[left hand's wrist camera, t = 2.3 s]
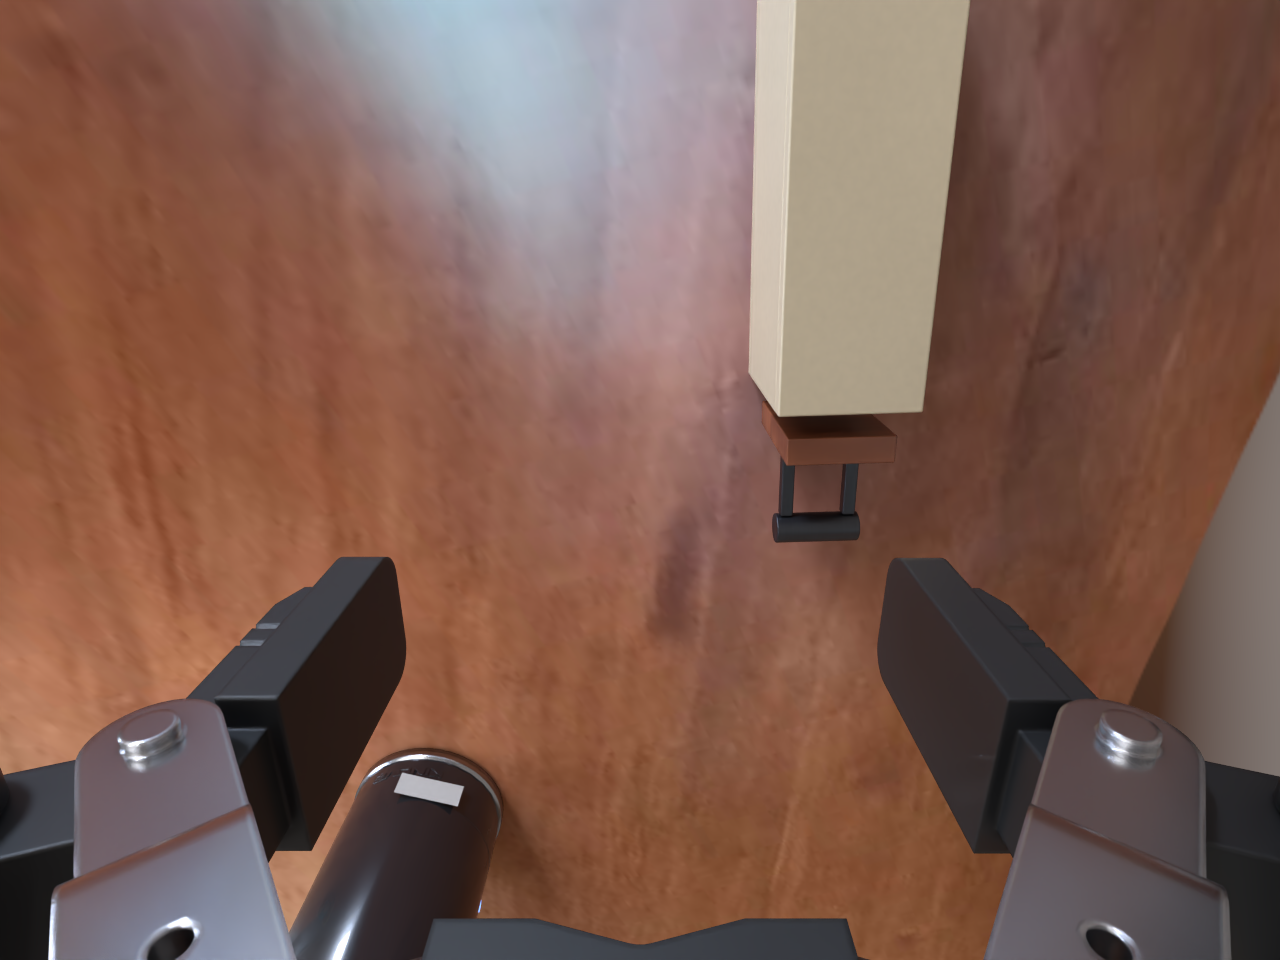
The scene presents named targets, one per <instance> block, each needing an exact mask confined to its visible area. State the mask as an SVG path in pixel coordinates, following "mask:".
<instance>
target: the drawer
mask: <svg viewBox="0 0 1280 960" xmlns="http://www.w3.org/2000/svg"><path fill="white" fill-rule="evenodd" d="M762 424H763V426H764V427H765V429H766V431H767V433H768V434H769V436H770V438H771V439H772V441H773V443H774V445H775V446H776V448H777V450H778V452H779V453H780V455H781V462H780V487H779V513H775V514H774V515H773V519H772V531H773V538H774V541H775V542H776V543H778V542H812V541H845V540H857V539H858V538H859V534H860V521H859V516H858V514H857V512H856V511H855V501H856V489H857V477H858V465H859V463H891V462H894V461H895V452H896V442H897V436H896V435H895V434H894V433H893V432H892V431H891V430H890V429H888V428H887V427H886V426H885V425H884V424H883V423H881V422H880V421H879V420H878V419H877V418H876V417H874V416H873V415H872V414H856V415H825V416H794V417H779V416H778V415H777V414H776V412H775V411H774V410H773V408H772V407H771V405H770V404H769V402H768V401H763V402H762ZM826 464H843V470H842V484H841V497H840V511H837V512H804V513H793V495H794V475H795V465H826Z"/></svg>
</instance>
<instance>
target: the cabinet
mask: <svg viewBox="0 0 1280 960" xmlns="http://www.w3.org/2000/svg"><path fill="white" fill-rule="evenodd" d="M969 8H970V0H757V31H756V75H755V119H754V163H753V207H752V251H751V295H750V339H749V374H750V376H751V377H752V379H753V380H754V382H755V383H756V385H757V386H758V388H759V389H760V391H761V392H762V393H763V395H764V396H765V398H766V399H767V401H768V402H769V404H770V405H771V407H772V408H773V410H774V411H775V412H776V414H777V415H778V416H779V417H794V416H825V415H856V414H887V413H918V412H922V411H923V405H924V396H925V387H926V379H927V370H928V361H929V353H930V344H931V336H932V327H933V318H934V310H935V301H936V293H937V284H938V275H939V267H940V258H941V250H942V241H943V232H944V224H945V215H946V206H947V198H948V189H949V181H950V172H951V163H952V155H953V146H954V138H955V129H956V120H957V112H958V103H959V95H960V86H961V77H962V69H963V60H964V51H965V43H966V34H967V26H968V17H969Z"/></svg>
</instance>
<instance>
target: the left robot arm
mask: <svg viewBox="0 0 1280 960" xmlns="http://www.w3.org/2000/svg"><path fill="white" fill-rule="evenodd" d="M877 653H878V663H879V669H880V673H881V676H882V679H883V682H884V684H885V686H886V688H887V689H888V691H889V693H890V695H891V697H892V699H893V701H894V703H895V705H896V706H897V708H898V710H899V712H900V714H901V716H902V718H903V720H904V722H905V724H906V725H907V727H908V729H909V731H910V733H911V735H912V737H913V739H914V741H915V743H916V744H917V746H918V748H919V750H920V752H921V754H922V756H923V758H924V760H925V762H926V763H927V765H928V767H929V769H930V771H931V773H932V775H933V777H934V779H935V780H936V782H937V784H938V786H939V788H940V790H941V792H942V794H943V796H944V798H945V799H946V801H947V803H948V805H949V807H950V809H951V811H952V813H953V815H954V817H955V818H956V820H957V822H958V824H959V826H960V828H961V830H962V832H963V834H964V835H965V837H966V839H967V841H968V843H969V845H970V847H971V849H972V851H973V853H1010V854H1011V855H1012V857H1013V861H1012V864H1011V868H1010V871H1009V874H1008V878H1007V881H1006V885H1005V888H1004V891H1003V895H1002V898H1001V902H1000V905H999V909H998V912H997V915H996V919H995V922H994V926H993V929H992V932H991V936H990V939H989V943H988V946H987V949H986V953H985V956H984V960H1280V777H1279V776H1274V775H1269V774H1264V773H1259V772H1255V771H1250V770H1245V769H1240V768H1235V767H1231V766H1226V765H1221V764H1216V763H1212V762H1207V761H1204V758H1203V756H1202V754H1201V752H1200V751H1199V749H1198V748H1197V747H1196V745H1195V744H1194V743H1193V742H1192V741H1191V740H1190V739H1189V738H1188V737H1187V736H1186V735H1184V734H1183V733H1182V732H1181V731H1179V730H1178V729H1177V728H1175V727H1174V726H1172V725H1171V724H1169V723H1168V722H1166V721H1164V720H1162V719H1160V718H1158V717H1157V716H1154V715H1152V714H1150V713H1148V712H1146V711H1143V710H1141V709H1138V708H1135V707H1133V706H1129V705H1126V704H1123V703H1119V702H1114V701H1109V700H1102V699H1098V698H1097V697H1096V696H1095V695H1094V694H1093V693H1092V692H1091V691H1090V690H1089V688H1088V687H1087V686H1086V685H1085V684H1084V683H1083V682H1082V681H1081V680H1080V679H1079V678H1078V677H1077V676H1076V675H1075V674H1074V673H1073V672H1072V671H1071V670H1070V669H1069V668H1068V667H1067V665H1066V664H1065V663H1064V662H1063V661H1062V660H1061V659H1060V658H1059V657H1058V656H1057V655H1056V654H1055V653H1054V652H1053V651H1052V650H1051V649H1050V648H1049V647H1045V642H1044V641H1043V640H1042V639H1041V638H1040V637H1039V636H1038V635H1037V634H1036V633H1035V632H1034V631H1033V630H1029V626H1028V625H1027V624H1026V623H1025V622H1024V621H1023V620H1022V618H1021V617H1020V616H1019V615H1018V614H1017V613H1016V612H1015V611H1014V610H1013V609H1012V608H1011V607H1010V606H1009V605H1007V604H1006V603H1004V602H1002V601H1000V600H999V599H997V598H995V597H993V596H992V595H990V594H988V593H987V592H985V591H983V590H981V589H980V588H971V587H970V586H969V585H968V584H967V582H966V581H965V580H964V579H963V578H962V577H961V576H960V575H959V574H958V572H957V571H956V570H955V569H954V568H953V567H952V566H951V565H950V564H949V562H948V561H946V560H945V559H943V558H895V559H893V560H892V562H891V563H890V566H889V569H888V574H887V580H886V587H885V594H884V601H883V608H882V615H881V622H880V629H879V636H878V647H877ZM405 659H406V638H405V631H404V624H403V617H402V610H401V602H400V595H399V588H398V581H397V574H396V569H395V565H394V563H393V561H392V559H391V558H389V557H341V558H339V559H338V560H336V562H335V563H334V564H333V565H332V566H331V567H330V568H329V569H328V571H327V572H326V573H325V574H324V575H323V576H322V577H321V578H320V579H319V581H318V582H317V583H316V584H315V585H314V586H313V587H304V588H303V589H301V590H299V591H297V592H296V593H294V594H292V595H291V596H289V597H287V598H285V599H284V600H282V601H280V602H279V603H277V604H275V605H274V606H273V607H272V608H271V609H270V610H269V612H268V613H267V614H266V615H265V616H264V617H263V618H262V619H261V620H260V621H259V622H258V623H257V624H256V629H251V631H250V632H249V633H248V634H247V635H246V636H245V637H244V638H243V639H242V640H241V641H240V646H235V647H234V648H233V649H232V651H231V652H230V653H229V654H228V655H227V656H226V657H225V658H224V659H223V660H222V661H221V662H220V663H219V664H218V665H217V666H216V667H215V668H214V670H213V671H212V672H211V673H210V674H209V675H208V676H207V677H206V678H205V679H204V680H203V681H202V682H201V683H200V684H199V685H198V686H197V687H196V689H195V690H194V691H193V692H192V693H191V694H190V695H189V696H188V697H187V698H186V699H178V700H171V701H166V702H161V703H157V704H154V705H151V706H147V707H145V708H142V709H139V710H137V711H134V712H132V713H130V714H128V715H125V716H123V717H122V718H120V719H118V720H116V721H114V722H112V723H111V724H109V725H108V726H106V727H105V728H103V729H102V730H101V731H99V732H98V733H97V734H96V735H94V736H93V737H92V738H91V739H90V740H89V741H88V742H87V743H86V744H85V745H84V747H83V748H82V749H81V751H80V752H79V754H78V756H77V758H76V760H73V761H68V762H63V763H58V764H54V765H49V766H44V767H39V768H34V769H30V770H25V771H20V772H15V773H10V774H6V775H3V773H2V771H1V769H0V960H869V959H865V958H861V957H858V956H857V953H856V949H855V946H854V943H853V939H852V936H851V932H850V929H849V926H848V922H847V919H742V920H738V921H734V922H730V923H726V924H723V925H719V926H715V927H711V928H708V929H704V930H700V931H696V932H692V933H689V934H685V935H681V936H677V937H673V938H670V939H666V940H662V941H658V942H654V943H650V944H645V945H636V944H630V943H626V942H622V941H618V940H614V939H610V938H607V937H603V936H599V935H595V934H591V933H588V932H584V931H580V930H576V929H572V928H569V927H565V926H561V925H557V924H554V923H550V922H546V921H542V920H538V919H477V916H478V912H479V911H480V906H481V899H482V894H483V890H484V886H485V882H486V877H487V874H488V870H489V866H490V862H491V858H492V853H493V849H494V845H495V840H496V838H497V836H498V833H499V830H500V826H501V821H502V817H503V802H502V797H501V794H500V792H499V789H498V788H497V786H496V784H495V783H494V781H493V780H492V778H491V777H490V776H489V775H488V774H487V773H486V772H485V771H484V770H483V769H482V768H480V767H479V766H478V765H476V764H475V763H473V762H472V761H470V760H468V759H466V758H464V757H462V756H460V755H457V754H454V753H452V752H448V751H444V750H439V749H430V748H416V749H408V750H403V751H399V752H396V753H393V754H391V755H388V756H387V757H385V758H383V759H381V760H380V761H378V762H377V763H376V764H375V765H373V766H372V767H371V768H370V770H369V771H368V772H367V773H366V775H365V777H364V778H363V780H362V782H361V784H360V786H359V788H358V791H357V793H356V796H355V800H354V802H353V804H352V806H351V808H350V810H349V812H348V815H347V817H346V819H345V821H344V823H343V825H342V826H341V828H340V830H339V832H338V834H337V836H336V838H335V840H334V842H333V844H332V846H331V848H330V850H329V852H328V854H327V856H326V858H325V860H324V863H323V865H322V867H321V869H320V871H319V873H318V875H317V877H316V879H315V881H314V883H313V885H312V887H311V889H310V891H309V893H308V895H307V897H306V899H305V901H304V903H303V905H302V907H301V909H300V911H299V913H298V915H297V917H296V919H295V921H294V923H293V925H292V928H291V930H290V932H288V929H287V926H286V922H285V919H284V915H283V912H282V909H281V905H280V902H279V898H278V895H277V891H276V888H275V885H274V881H273V878H272V874H271V871H270V868H269V864H268V863H269V861H270V859H271V858H272V856H273V854H274V853H275V851H312V849H313V847H314V845H315V843H316V841H317V839H318V837H319V835H320V833H321V832H322V830H323V828H324V826H325V824H326V822H327V820H328V818H329V816H330V814H331V812H332V810H333V808H334V807H335V805H336V803H337V801H338V799H339V797H340V795H341V793H342V791H343V789H344V787H345V785H346V784H347V782H348V780H349V778H350V776H351V774H352V772H353V770H354V768H355V766H356V764H357V762H358V760H359V759H360V757H361V755H362V753H363V751H364V749H365V747H366V745H367V743H368V741H369V739H370V737H371V736H372V734H373V732H374V730H375V728H376V726H377V724H378V722H379V720H380V718H381V716H382V714H383V712H384V711H385V709H386V707H387V705H388V703H389V701H390V699H391V697H392V695H393V693H394V691H395V689H396V688H397V686H398V684H399V682H400V679H401V677H402V674H403V670H404V666H405Z"/></svg>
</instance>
